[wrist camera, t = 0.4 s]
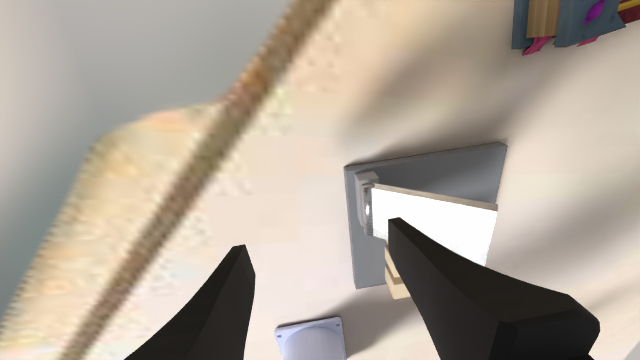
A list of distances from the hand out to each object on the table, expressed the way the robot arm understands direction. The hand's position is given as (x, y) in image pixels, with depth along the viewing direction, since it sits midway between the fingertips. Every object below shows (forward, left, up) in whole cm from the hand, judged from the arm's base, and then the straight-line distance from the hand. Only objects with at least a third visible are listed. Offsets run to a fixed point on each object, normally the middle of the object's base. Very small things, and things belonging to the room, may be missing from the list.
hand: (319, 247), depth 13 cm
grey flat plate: (-3, -5, -7) cm, 9 cm away
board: (-7, -10, -10) cm, 16 cm away
